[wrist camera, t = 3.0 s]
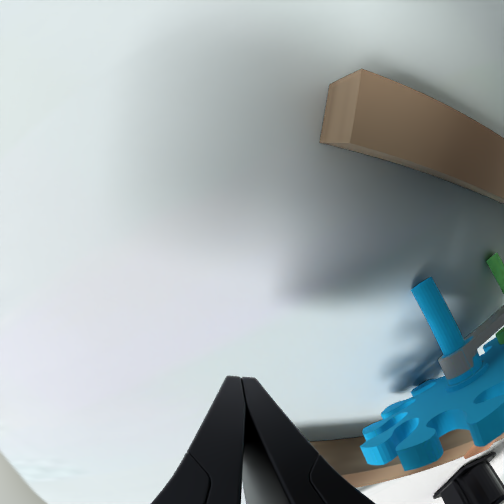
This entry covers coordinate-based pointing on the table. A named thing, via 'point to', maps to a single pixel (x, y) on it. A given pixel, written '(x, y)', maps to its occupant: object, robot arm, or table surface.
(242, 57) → the table surface
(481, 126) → the guide channel
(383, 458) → the gear
